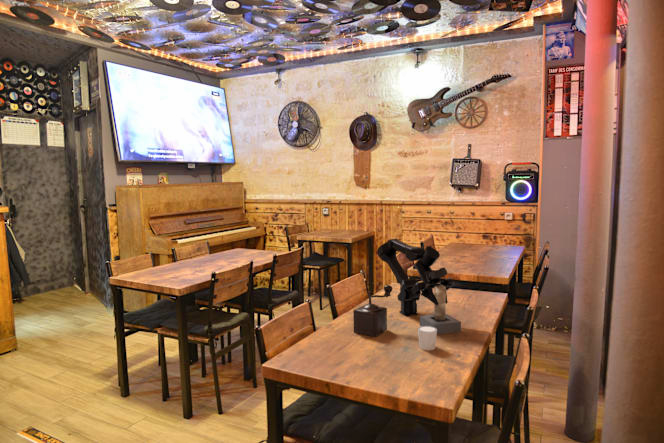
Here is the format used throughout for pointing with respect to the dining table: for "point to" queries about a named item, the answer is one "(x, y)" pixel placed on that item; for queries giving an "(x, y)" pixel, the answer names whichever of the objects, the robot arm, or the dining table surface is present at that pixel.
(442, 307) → the peg
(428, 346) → the shot glass
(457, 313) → the dining table surface
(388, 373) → the dining table surface
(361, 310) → the pepper mill
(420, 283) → the robot arm
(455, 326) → the socket
